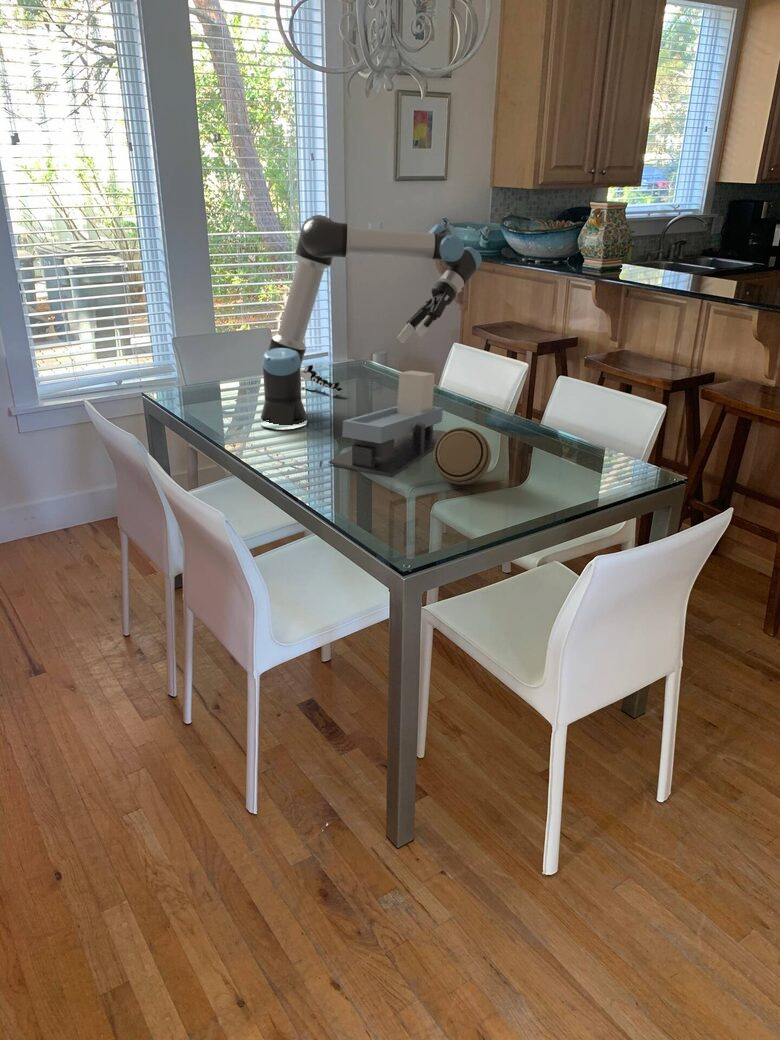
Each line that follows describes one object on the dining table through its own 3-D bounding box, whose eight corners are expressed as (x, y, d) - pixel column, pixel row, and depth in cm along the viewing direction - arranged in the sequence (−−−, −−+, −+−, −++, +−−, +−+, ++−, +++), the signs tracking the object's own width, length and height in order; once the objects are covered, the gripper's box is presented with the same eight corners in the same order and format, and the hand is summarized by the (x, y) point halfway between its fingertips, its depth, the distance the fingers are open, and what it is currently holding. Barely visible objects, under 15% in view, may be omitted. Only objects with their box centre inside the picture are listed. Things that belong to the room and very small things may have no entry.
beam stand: (397, 426, 255) (398, 399, 251) (454, 436, 246) (455, 408, 243) (328, 464, 221) (327, 433, 217) (391, 477, 212) (392, 445, 208)
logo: (297, 386, 299) (300, 361, 294) (302, 385, 300) (305, 360, 295) (336, 408, 288) (339, 383, 283) (340, 407, 289) (344, 382, 284)
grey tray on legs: (404, 431, 252) (406, 402, 249) (441, 437, 246) (444, 407, 243) (339, 454, 218) (341, 420, 215) (381, 461, 212) (383, 427, 209)
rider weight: (408, 409, 245) (411, 370, 242) (431, 412, 242) (434, 373, 238) (396, 412, 238) (399, 372, 235) (420, 416, 235) (423, 376, 231)
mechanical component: (423, 477, 212) (424, 423, 206) (471, 470, 218) (474, 417, 212) (449, 496, 200) (451, 439, 194) (499, 488, 206) (503, 433, 199)
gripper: (474, 288, 243) (435, 339, 238) (437, 304, 265) (400, 351, 261) (457, 271, 240) (417, 322, 236) (422, 288, 263) (384, 335, 258)
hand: (408, 337), depth 248 cm, fingers open, 13 cm apart
